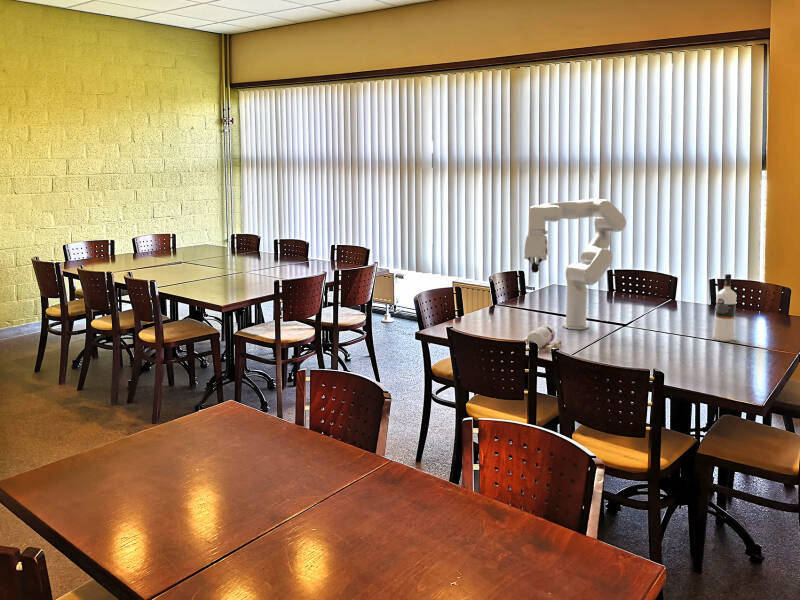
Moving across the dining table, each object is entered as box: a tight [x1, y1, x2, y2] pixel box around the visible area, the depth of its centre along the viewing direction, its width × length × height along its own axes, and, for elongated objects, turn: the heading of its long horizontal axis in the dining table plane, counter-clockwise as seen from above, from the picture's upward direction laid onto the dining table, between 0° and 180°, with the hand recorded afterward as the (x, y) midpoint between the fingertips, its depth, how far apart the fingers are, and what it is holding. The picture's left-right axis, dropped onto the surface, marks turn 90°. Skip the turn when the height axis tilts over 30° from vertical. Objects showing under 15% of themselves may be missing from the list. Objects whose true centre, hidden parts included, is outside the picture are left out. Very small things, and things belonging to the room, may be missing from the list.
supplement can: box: [526, 324, 556, 349], centre depth 322 cm, size 8×8×15 cm
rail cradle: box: [521, 336, 562, 354], centre depth 322 cm, size 14×16×2 cm
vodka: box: [711, 273, 738, 342], centre depth 330 cm, size 9×9×30 cm
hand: (535, 272), depth 341 cm, fingers closed
